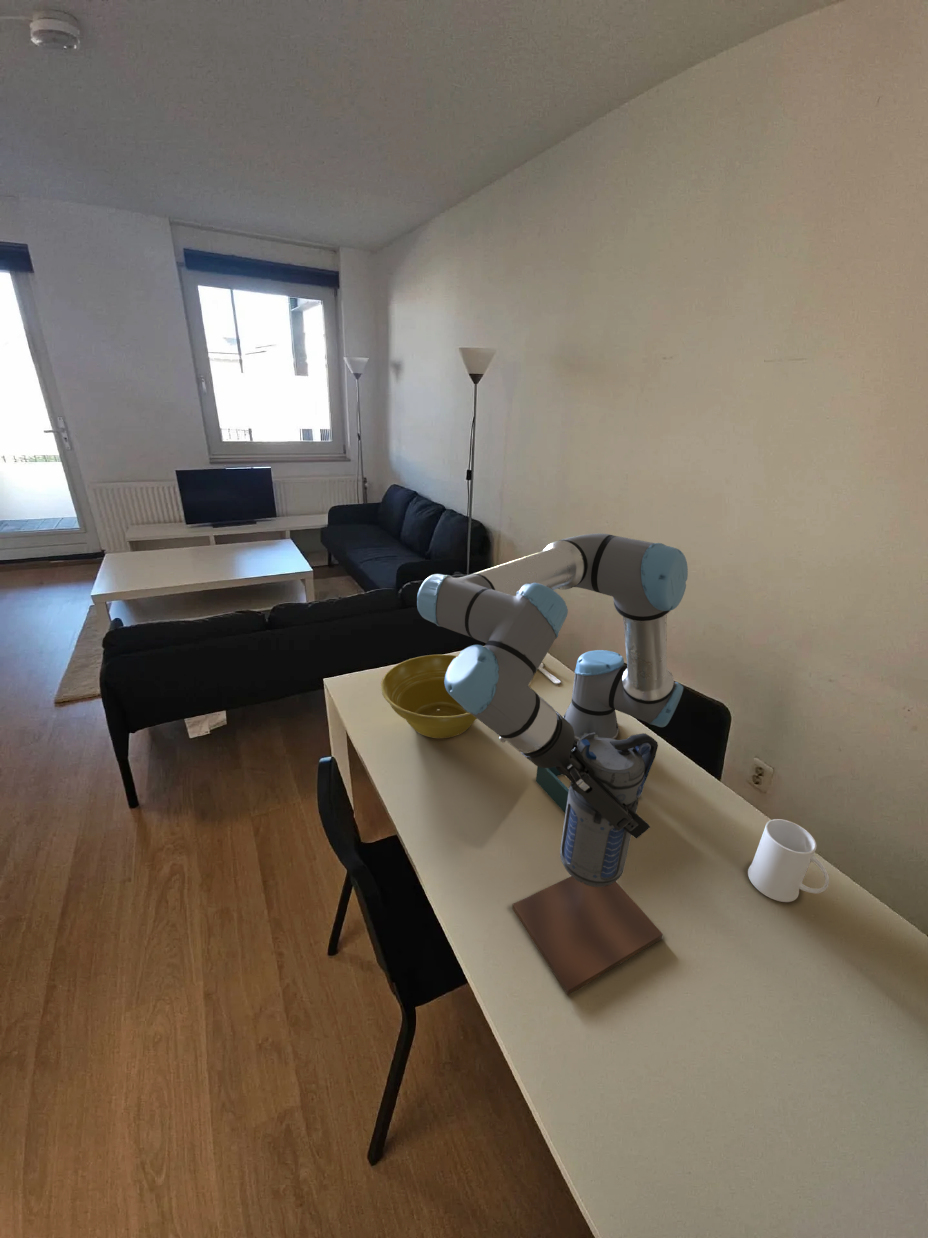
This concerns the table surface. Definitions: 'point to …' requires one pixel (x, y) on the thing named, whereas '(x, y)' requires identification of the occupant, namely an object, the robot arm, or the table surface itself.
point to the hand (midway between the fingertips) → (623, 804)
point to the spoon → (548, 675)
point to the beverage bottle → (586, 833)
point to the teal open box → (553, 786)
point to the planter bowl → (425, 697)
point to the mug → (784, 861)
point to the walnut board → (585, 929)
